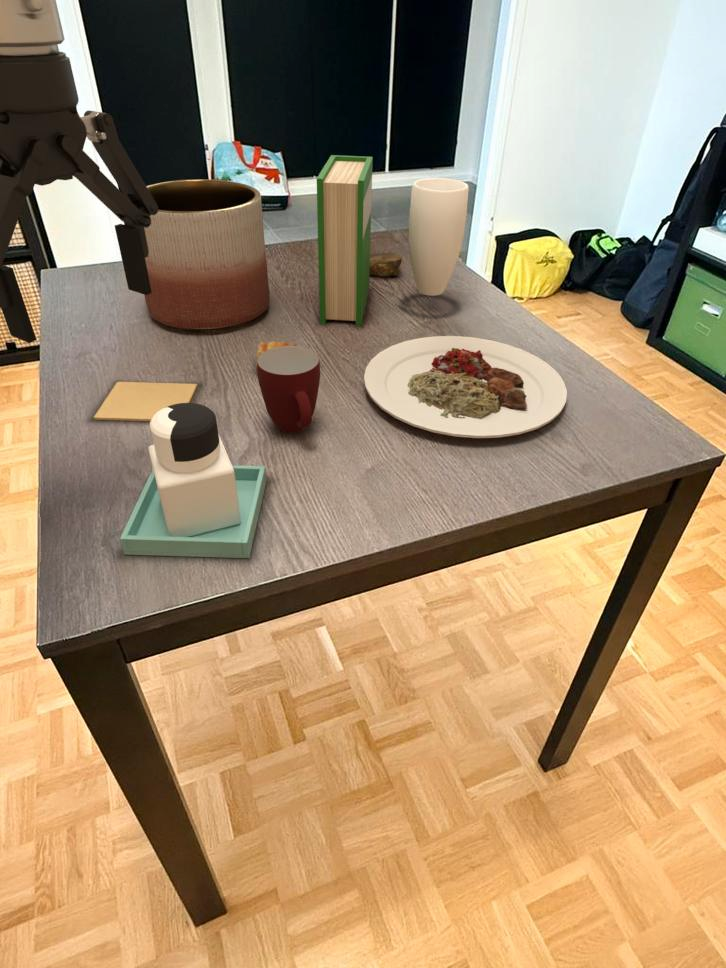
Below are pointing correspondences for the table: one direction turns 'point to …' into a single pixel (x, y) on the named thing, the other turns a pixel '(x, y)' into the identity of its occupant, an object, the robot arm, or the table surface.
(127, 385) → the mat
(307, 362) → the mug
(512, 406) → the plated food
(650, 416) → the table surface
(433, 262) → the cup
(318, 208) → the hardback book
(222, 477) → the container
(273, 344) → the pastry
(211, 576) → the table surface
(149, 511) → the tray
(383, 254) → the decorative stone
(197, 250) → the planter
